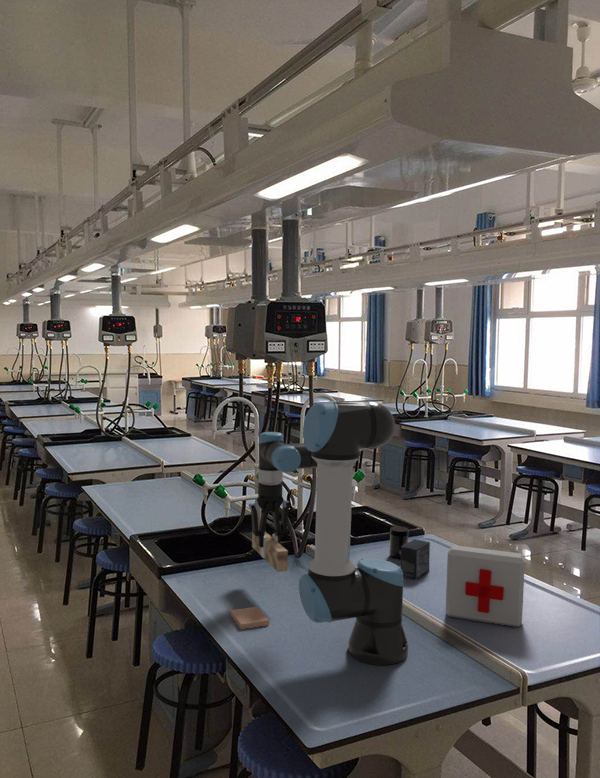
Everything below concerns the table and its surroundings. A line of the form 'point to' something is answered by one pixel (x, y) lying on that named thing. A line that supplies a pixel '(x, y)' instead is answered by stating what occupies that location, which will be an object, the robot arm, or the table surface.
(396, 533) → the supplement container
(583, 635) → the table surface
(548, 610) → the table surface
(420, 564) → the small box
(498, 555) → the bevelled white case
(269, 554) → the push bar
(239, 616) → the tile
